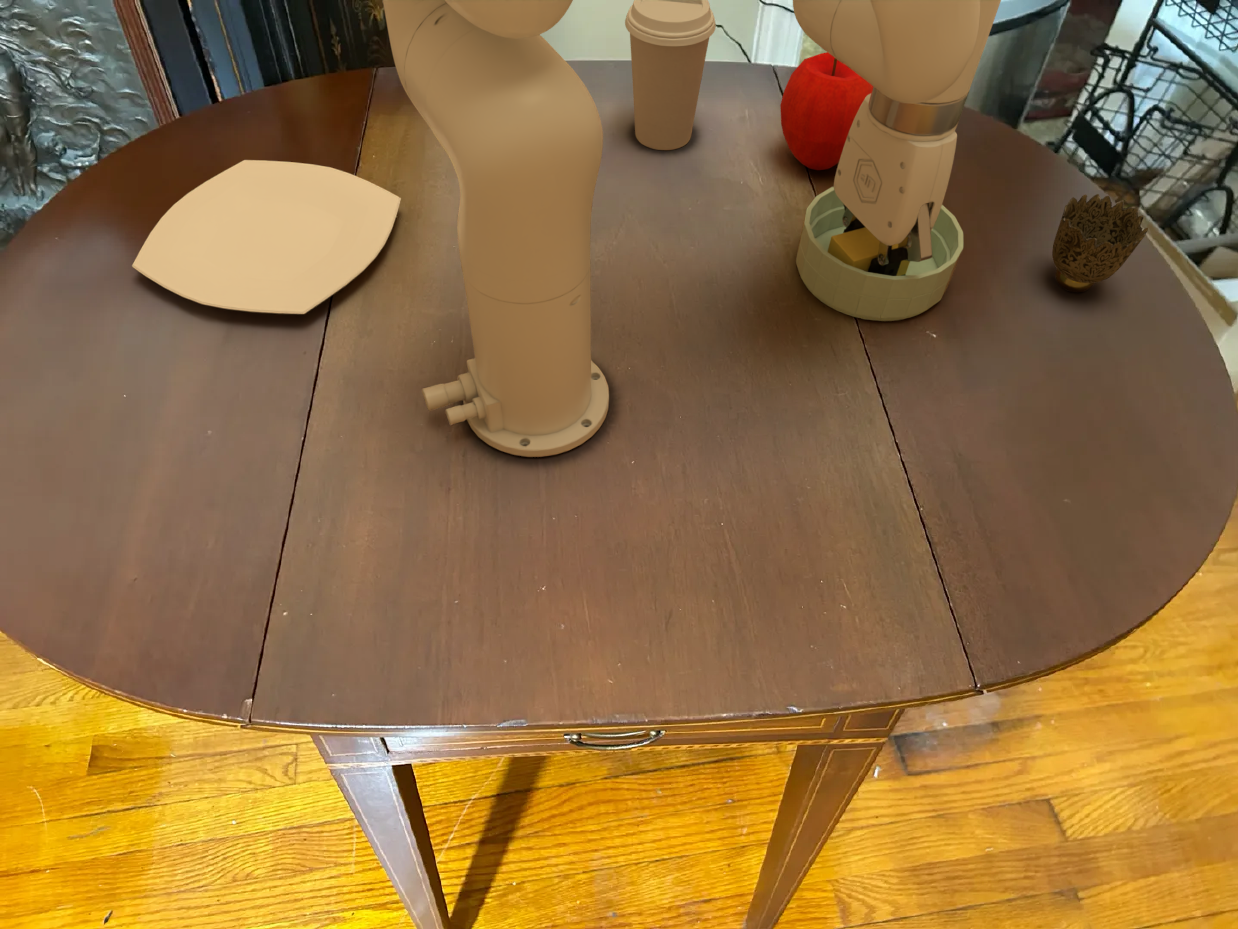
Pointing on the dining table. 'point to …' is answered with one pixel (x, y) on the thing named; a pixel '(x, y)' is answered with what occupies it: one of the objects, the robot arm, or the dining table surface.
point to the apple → (821, 109)
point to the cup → (1094, 241)
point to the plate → (269, 237)
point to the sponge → (859, 249)
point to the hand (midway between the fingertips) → (864, 272)
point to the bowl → (871, 290)
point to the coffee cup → (667, 67)
